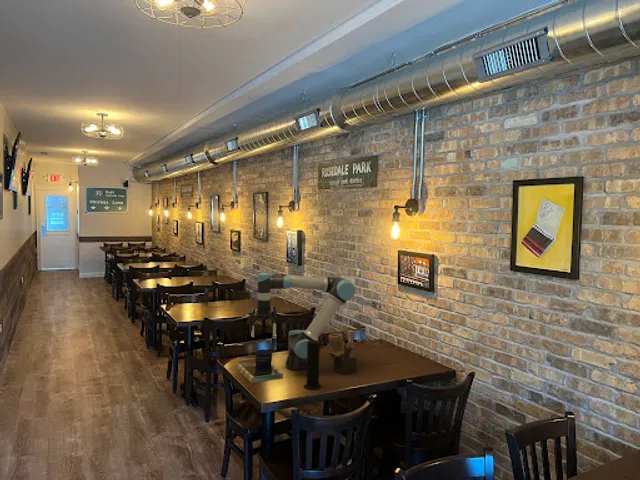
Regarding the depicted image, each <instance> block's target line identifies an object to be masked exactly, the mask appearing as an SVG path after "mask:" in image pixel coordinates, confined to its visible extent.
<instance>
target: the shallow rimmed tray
mask: <svg viewBox="0 0 640 480" xmlns="http://www.w3.org/2000/svg"><path fill="white" fill-rule="evenodd" d="M235 365H236V369H237V371H239V372H240V373H241V374H242V375H243V376H244V377H245V378H246V379H247V380H248V381H249V382H250V383H251V384H257V383H262V382H269V381H276V380H281V379H284V373H283V372H282V371H281V370H279V369H278V368H276V367H275V366H274V365H273V364H272V363H271V367H272V374H270V375H263V376H256V377H255V376H253V375H252V374H251V372H249V371H248V370H247V367H248V368H255V367H256V362H255V357H251V358H243V359H238V362H237V363H236V364H235ZM254 366H255V367H254Z"/></svg>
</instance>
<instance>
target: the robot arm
mask: <svg viewBox="0 0 640 480" xmlns="http://www.w3.org/2000/svg"><path fill="white" fill-rule="evenodd" d="M291 288H296V289H298V288H299V289H304V290H305V289H307V290H308V289H309V290H316V291H323V293H328V298H327V299H326V301H325V302H324V304H323V306H322V307H321V308H320V309H319V310H318V312H317V314H316V316H315V317H314V318H313V319H312V321H311V323H310V324H309V326H308V327H307V329H294V330H289V331H288V350H287V351H288V352H287V354H288V355H287V358H286V360H285V365H284V366H285V368H286V369H288V370H291V371H304V370H307V345H308V343H307V341H310V340H317V341H319V337H320V335H321V334H322V333H323V332H324V330H325V329H326V327H327V326H328V325H329V323H330V322H331V320H332V318H334V316H335V314H336V313H337V311H338V310H339V308H340V307H341V306H345V305H346V303H347V302H348V301H349V300H351V299H353V297H354V295H355V293H356V289H355V286H354V283H353V282H352V281H350V280H348V279H346V278H343V277H337V276H335V277H334V276H333V277H332V276H329V277H328V276H324V277H316V276H315V277H314V276H313V277H312V276H306V275H295V274H286V273H279V272H273V273H272V274H271V273H270V272H260V273H258V274H257V305H256V306H257V307H256V308H254V307H252V308H251V312H250V314H249V317H248V319H247V320H246V324H247V325H248V326H249V331H250V334H251V335H250V336H251V337H252V338H255V326H254V325H255V323H256V322H257V321H258V320H259V318H260V317H261V316H269V318H270V319H271V320H272V321H273V323H272V334H273V335H274V336H275V335H276V334H277V329H278V324H279V323H280V322H281V319H280V316H279V314H278V313H277V311H276V310H277V309H276V307H275V306H271V290H287V289H291ZM271 311H272V313H273V315H274V316H273V315H272V313H271Z"/></svg>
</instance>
